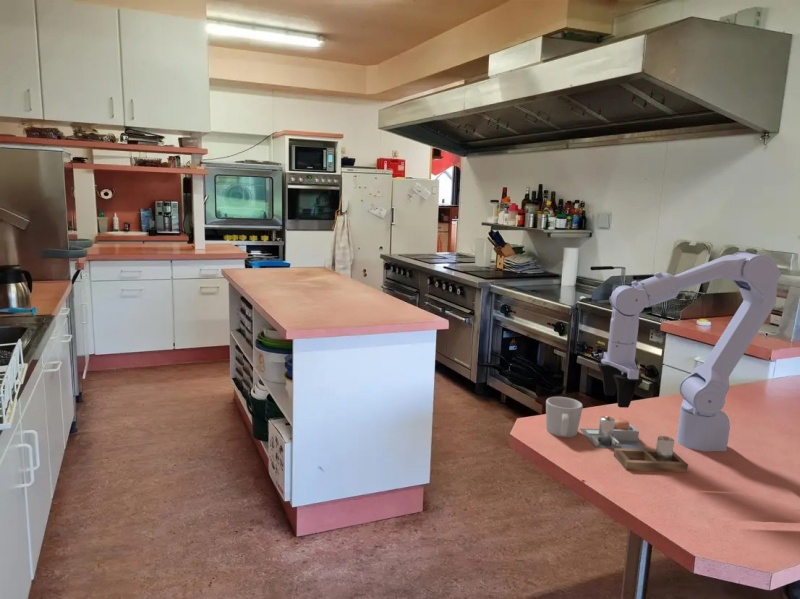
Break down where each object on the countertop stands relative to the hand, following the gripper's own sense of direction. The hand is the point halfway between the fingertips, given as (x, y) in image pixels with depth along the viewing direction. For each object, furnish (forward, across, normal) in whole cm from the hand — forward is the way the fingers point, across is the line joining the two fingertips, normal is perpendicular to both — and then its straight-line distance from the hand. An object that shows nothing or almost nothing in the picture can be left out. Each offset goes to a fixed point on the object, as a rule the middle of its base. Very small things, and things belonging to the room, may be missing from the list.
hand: (616, 400), depth 127 cm
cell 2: (+8, +14, +5) cm, 17 cm away
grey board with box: (+9, +2, -1) cm, 10 cm away
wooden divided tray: (+9, +14, +2) cm, 17 cm away
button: (+7, 0, +2) cm, 7 cm away
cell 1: (+8, +4, -3) cm, 10 cm away
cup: (+10, 0, -11) cm, 15 cm away
